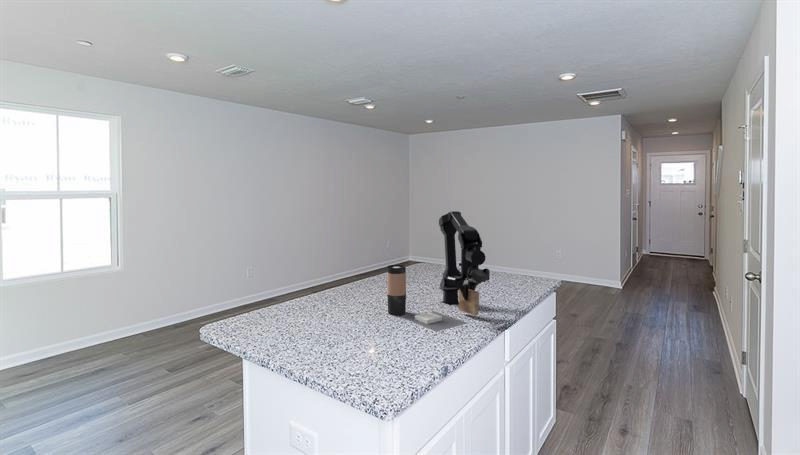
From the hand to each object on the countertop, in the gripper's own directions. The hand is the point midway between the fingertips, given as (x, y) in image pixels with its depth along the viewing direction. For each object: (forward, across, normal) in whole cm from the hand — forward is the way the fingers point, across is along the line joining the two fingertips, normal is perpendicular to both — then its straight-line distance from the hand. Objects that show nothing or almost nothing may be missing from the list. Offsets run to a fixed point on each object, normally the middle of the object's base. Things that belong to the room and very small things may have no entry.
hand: (468, 299), depth 169 cm
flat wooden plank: (+5, 0, 0) cm, 5 cm away
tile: (+6, -12, +6) cm, 15 cm away
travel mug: (+8, -20, +21) cm, 30 cm away
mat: (+7, -14, +4) cm, 16 cm away
